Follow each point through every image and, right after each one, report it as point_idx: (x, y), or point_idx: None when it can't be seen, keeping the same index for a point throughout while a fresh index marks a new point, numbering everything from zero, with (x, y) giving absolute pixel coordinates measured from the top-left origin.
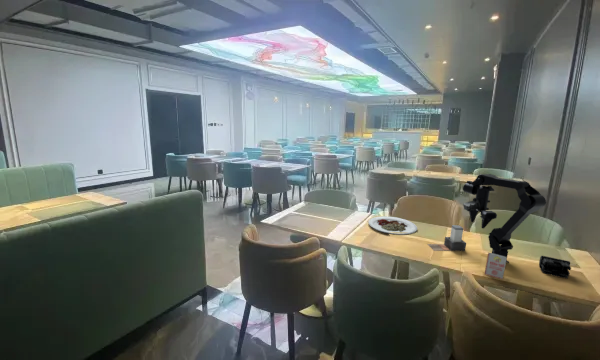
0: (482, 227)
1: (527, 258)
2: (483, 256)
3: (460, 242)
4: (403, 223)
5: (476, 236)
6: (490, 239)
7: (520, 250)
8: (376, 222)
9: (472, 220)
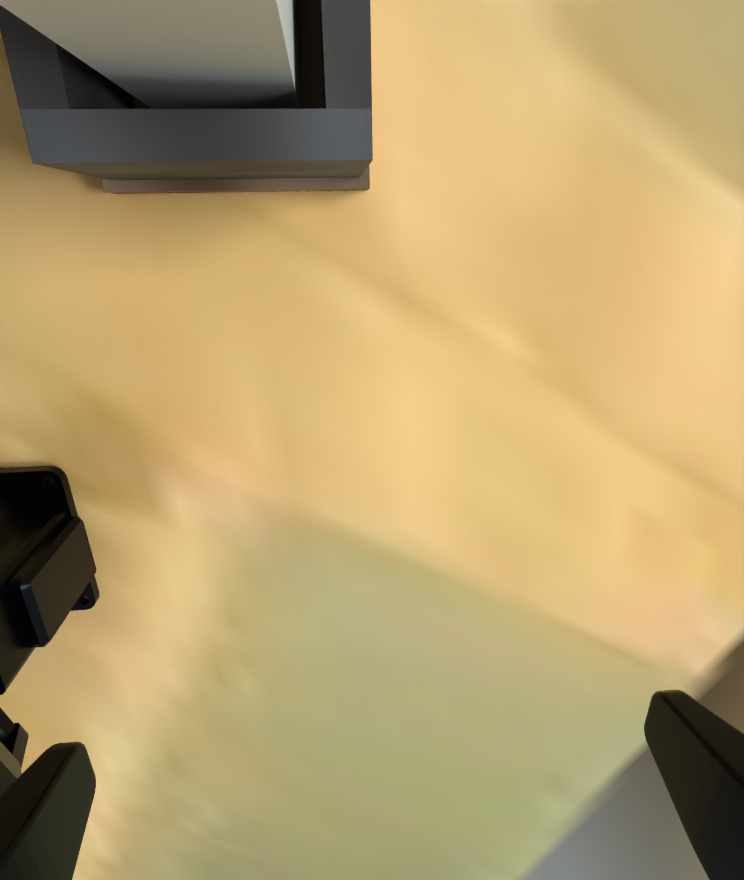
0: (21, 783)
1: (138, 800)
2: (61, 412)
3: None
4: None
5: (653, 619)
6: None
7: (311, 822)
8: None
9: (686, 759)
